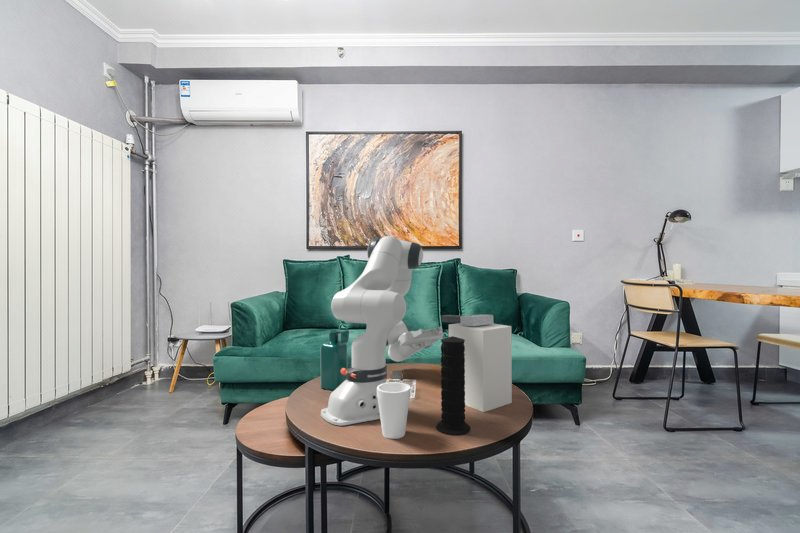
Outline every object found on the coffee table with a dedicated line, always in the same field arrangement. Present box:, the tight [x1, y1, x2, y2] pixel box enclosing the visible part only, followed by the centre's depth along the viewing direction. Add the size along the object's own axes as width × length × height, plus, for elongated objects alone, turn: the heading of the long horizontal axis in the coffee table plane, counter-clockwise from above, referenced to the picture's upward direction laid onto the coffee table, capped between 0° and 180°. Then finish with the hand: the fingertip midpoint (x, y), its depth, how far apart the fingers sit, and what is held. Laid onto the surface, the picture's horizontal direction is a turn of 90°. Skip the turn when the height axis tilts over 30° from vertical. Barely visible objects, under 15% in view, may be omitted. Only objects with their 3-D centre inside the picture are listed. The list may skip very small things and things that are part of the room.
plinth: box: [448, 323, 513, 413], centre depth 136 cm, size 14×16×26 cm
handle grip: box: [435, 336, 472, 436], centre depth 113 cm, size 10×26×10 cm
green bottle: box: [319, 329, 350, 391], centre depth 152 cm, size 10×8×22 cm
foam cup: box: [377, 381, 411, 440], centre depth 110 cm, size 10×9×13 cm
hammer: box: [441, 314, 495, 326], centre depth 142 cm, size 10×20×3 cm, turn 36°
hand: (431, 329), depth 156 cm, fingers open, 8 cm apart
